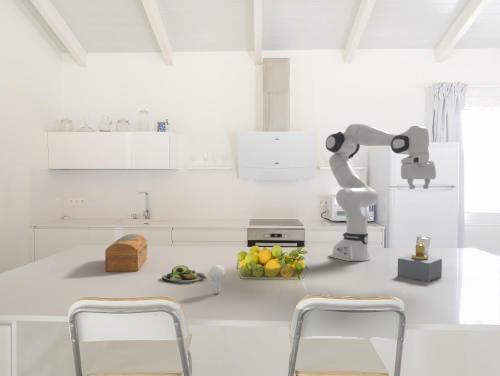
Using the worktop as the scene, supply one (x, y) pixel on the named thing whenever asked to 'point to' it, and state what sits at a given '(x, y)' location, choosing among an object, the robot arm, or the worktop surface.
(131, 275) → the worktop surface
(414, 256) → the brass knob plunger
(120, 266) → the wooden box
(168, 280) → the salad plate
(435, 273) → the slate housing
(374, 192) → the robot arm
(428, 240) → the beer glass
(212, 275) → the lightbulb
